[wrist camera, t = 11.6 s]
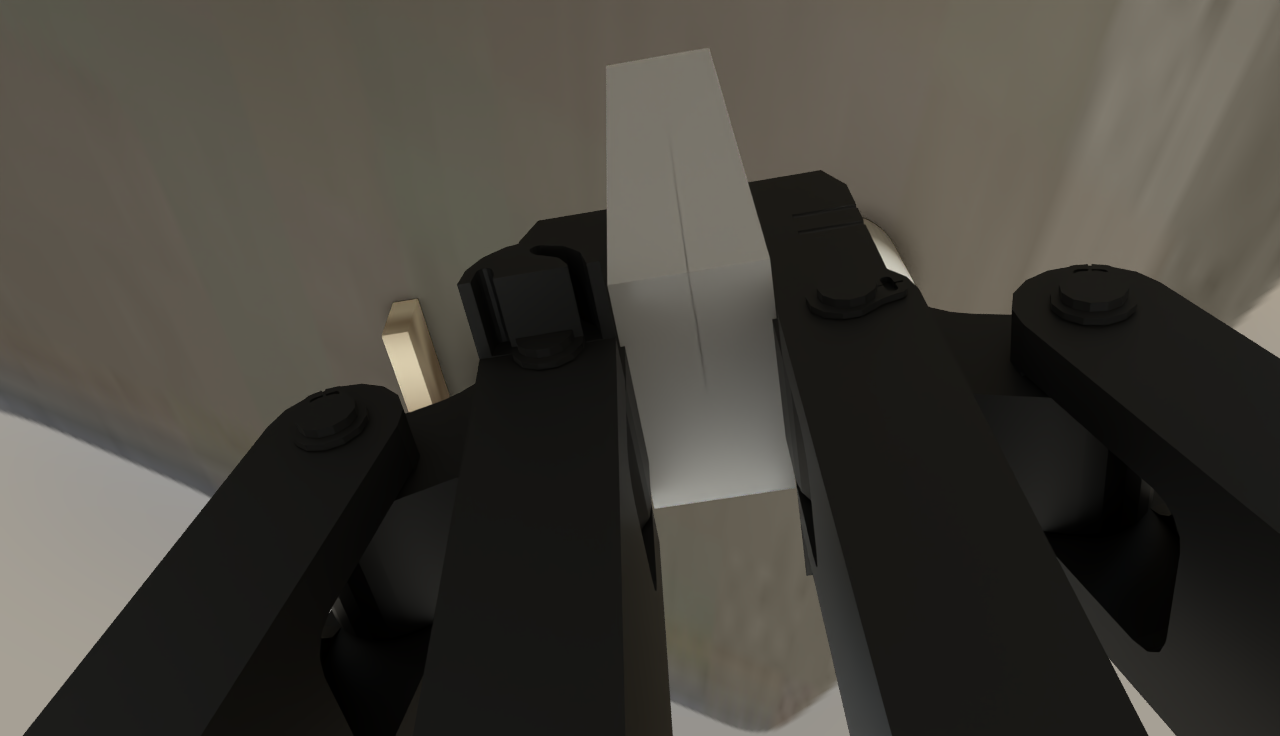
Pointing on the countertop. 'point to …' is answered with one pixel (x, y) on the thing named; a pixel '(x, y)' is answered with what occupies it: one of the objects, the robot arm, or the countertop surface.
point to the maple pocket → (413, 356)
